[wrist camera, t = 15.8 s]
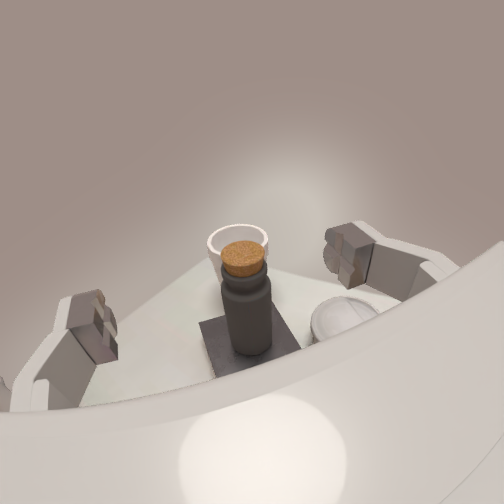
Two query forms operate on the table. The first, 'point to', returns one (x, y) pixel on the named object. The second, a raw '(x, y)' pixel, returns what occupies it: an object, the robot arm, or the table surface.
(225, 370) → the podium
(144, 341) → the table surface
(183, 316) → the table surface
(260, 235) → the foam cup
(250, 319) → the bottle
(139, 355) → the table surface
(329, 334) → the ramekin
